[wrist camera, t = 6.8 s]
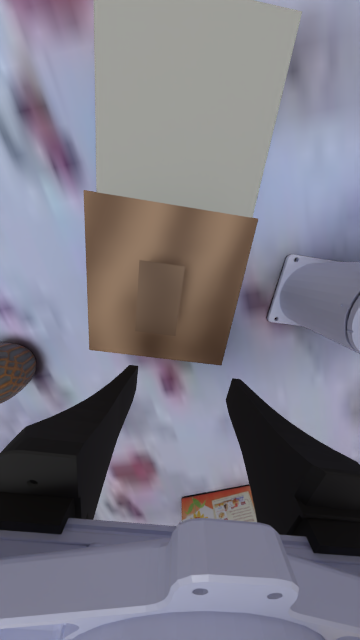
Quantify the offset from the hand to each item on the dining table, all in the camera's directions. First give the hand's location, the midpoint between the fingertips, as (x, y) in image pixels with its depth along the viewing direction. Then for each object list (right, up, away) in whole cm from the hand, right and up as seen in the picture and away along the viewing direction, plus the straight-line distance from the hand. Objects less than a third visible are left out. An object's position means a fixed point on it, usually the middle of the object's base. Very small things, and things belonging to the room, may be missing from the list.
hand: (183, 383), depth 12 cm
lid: (-2, +8, +4) cm, 9 cm away
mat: (0, +22, +3) cm, 23 cm away
